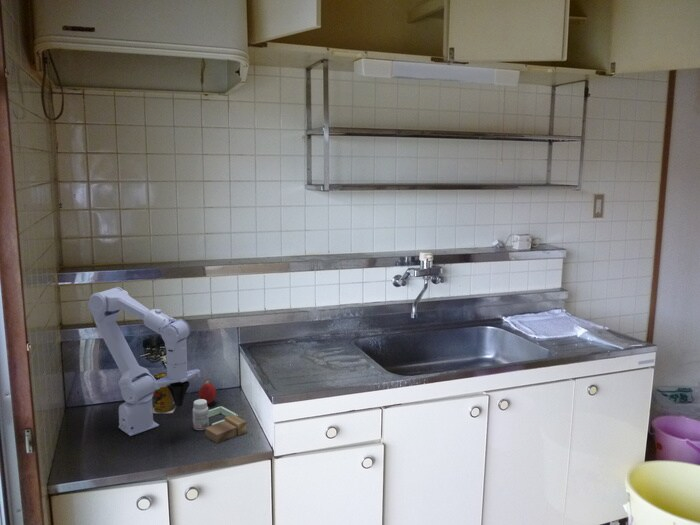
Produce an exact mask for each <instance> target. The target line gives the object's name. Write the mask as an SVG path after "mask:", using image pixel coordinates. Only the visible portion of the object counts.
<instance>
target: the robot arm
mask: <svg viewBox="0 0 700 525" xmlns="http://www.w3.org/2000/svg"><path fill="white" fill-rule="evenodd" d="M87 307H88V310H89V311H90V313H91V315H92V317H93V319H94V323H95V325H96V328H97V330H98V331H99V333H100V335H101V337H102V339H103V341H104V342H105V345H106V347H107V349H108V351H109V353H110V355H111V356H112V358H113V360H114V362H115V364H116V365H117V368H118V370H119V371H120V373H121V376H120V379H119V381H118V386H119V388H120V394H121V397H122V398H123V400H124V401H125V402H123V403H121V404H120V405H119V406H118V424H119V425H118V428H119V429H120V430H121V431H122V432H124V433H125V434H127V435H128V436H129V437H131V436H135V435H138V434H140V433H143V432H146V431H149V430H152V429H154V428H157V427H159V426H160V424H159V423H158V422H156V421H154V413H153V408H154V404H153V398H154V397H153V392H155V390H156V389H160V387H164V386H167V387H168V389H169V390H170V392H171V394H172V397H173V402H174V404H175V405H176V407H178V408H179V407H182V405H183V403H184V398H185V396H186V392H187V390H188V388H189V387H190V382H189V381H188V380H190V379H194V378H200V377H201V373H202V372H201V370H200V369H198V368H195V369H190V370H188V351H187V350H188V346H187V338H188V337H189V336H190V334H191V327H190V324H189V323H188V322H187V321H185V320H184V319H183V318H181V319H180V318H179V319H176V318H174V317H171V316H169V315H167V314H166V313H163V310H161V309H160V308H153V309H150V308H147V307H146V306H145V305H143V304H142V303H140V302H139V301H138V300H137V299H135V298H133V297H132V296H130V295H129V293H128V291H127V290H124V289H123V288H122V287H119V286H115V287H112V288H110V289H107V290H103V291H99V292H94V293H92V294H91V295H90V297H89V299H88V304H87ZM122 311H124V312H126V313H129V315H133V316H134V317H137V318H139V319H141V320H142V321H143V325H144V326H145V327H147V328H148V329H150V330H152V331H153V332H155V333H157V334H158V335H160V336H161V339H162V340H163V342H164V347H165V350H166V373H167V376H165V377H163V378H161V379H159V380H156V379H155V378H154V376H153V375H152V374H151V373H150V371H149V369H148V368H146V367H144V366H140V364H139V363H138V360H137V358H136V357H135V355H134V353H133V351H132V350H131V347H130V346H129V344H128V341H127V340H126V338H125V336H124V334H123V332H122V330H121V329H120V326H119V325H118V323H117V317H118V315H119V314H120V313H121V312H122Z"/></svg>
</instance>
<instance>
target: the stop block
mask: <svg viewBox="0 0 700 525" xmlns="http://www.w3.org/2000/svg"><path fill="white" fill-rule="evenodd" d="M224 419H225V421H226V422H228V423H230V424H232V425H233V426H235V427H237V436H241V435H243V434H246V433H247V420H244V419H243V418H240V417H237V416H235V415H233V414H232V415H229V416H224Z"/></svg>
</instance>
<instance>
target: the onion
mask: <svg viewBox="0 0 700 525" xmlns="http://www.w3.org/2000/svg"><path fill="white" fill-rule="evenodd" d="M216 397H217V389H216V387H215V386H214V385H213V384H211V382H210V381H209V380H207V381H206V382H205V383H204V384H203V385H201V387H200V388H199V391H198V399H205V400H206V401H207V405H208V404H211V403H212V402H213V401H214V400H215V399H216Z"/></svg>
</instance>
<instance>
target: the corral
mask: <svg viewBox="0 0 700 525" xmlns="http://www.w3.org/2000/svg"><path fill="white" fill-rule="evenodd" d="M220 414H222V415H224V417H227V416H229V415H232V414H233V415H235V416H237V417H239V416H240V415H239V414H238V413H235V412H233V410H232V411H231V410H229V409H228V408H226V407H224V406H223V405H221V406H218V407H214V408H211V409H208V415H209V418H212V417H214V416H216V415H220ZM239 418H240V417H239ZM223 421H225V418H224V419H222V420H219V421H218V420H217V421H216V422H213V423H211V426H212V425H215V424H218V423H220V422H223Z"/></svg>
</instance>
